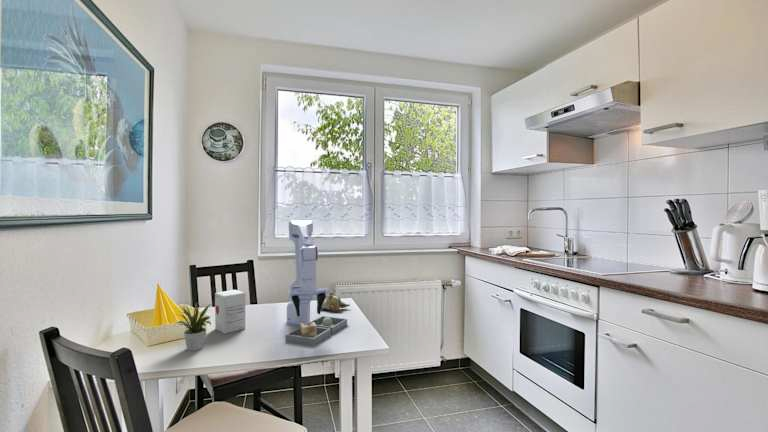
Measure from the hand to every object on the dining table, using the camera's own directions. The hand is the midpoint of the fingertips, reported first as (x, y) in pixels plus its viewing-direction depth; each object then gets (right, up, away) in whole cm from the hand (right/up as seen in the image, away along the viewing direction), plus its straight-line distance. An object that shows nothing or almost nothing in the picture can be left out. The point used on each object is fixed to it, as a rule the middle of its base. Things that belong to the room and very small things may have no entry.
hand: (308, 314), depth 139 cm
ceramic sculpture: (+3, -9, +40) cm, 42 cm away
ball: (+5, -9, +13) cm, 16 cm away
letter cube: (0, -9, 0) cm, 9 cm away
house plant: (-39, -10, -9) cm, 41 cm away
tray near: (0, -9, 0) cm, 9 cm away
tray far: (+5, -9, +13) cm, 16 cm away
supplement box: (-34, -9, +12) cm, 38 cm away
